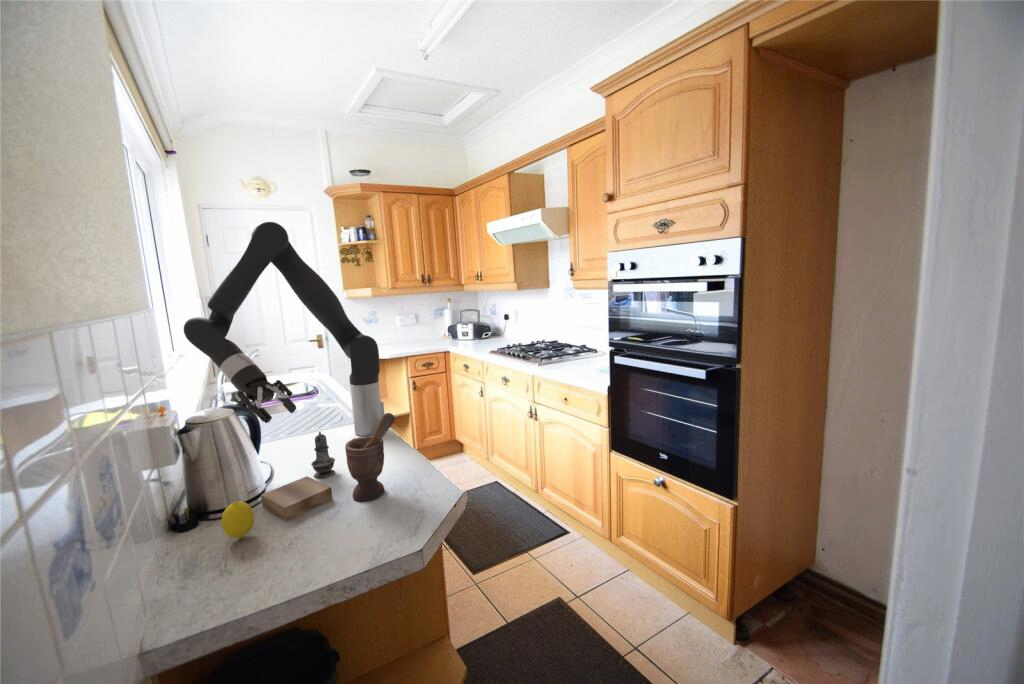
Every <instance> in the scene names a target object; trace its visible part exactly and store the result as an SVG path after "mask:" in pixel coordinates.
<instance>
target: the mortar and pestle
mask: <svg viewBox="0 0 1024 684" xmlns="http://www.w3.org/2000/svg"><path fill="white" fill-rule="evenodd" d="M384 414H385V415H384V416H383V417H382V419H381V421H380V423H379V425H378V427H377V429H376V431H375V433H374V435H368V436H360V437H355V438H352V439H350V440H348V441H347V442H346V443H345V445H344V446H345V449H344V450H345V455H346V464H347V469H348V471H349V473H350V474H349V475H350V476H351V478H353V480H355V481H356V482H357V484H356V486H355V487H353V488H354V489H353V491H352V499H353V500H354V501H357V502H365V501H366V502H367V501H368V502H369V501H372V500H374V499H376V498H379V497H380V496H383V494H384V493H385V486H384V484H383V483H382V482H380V481H379V480H378V478H379V476H380V475H381V474H382V472H383V468H384V463H385V452H384V450H385V449H384V448H385V445H384V439H383V438H384V436H385V435H386V433H387V432H388V431H389V429H390V428H392V426H393V425H394V422H395V420H396V416H395V415H394V414H392V413H390V412H386V413H384Z"/></svg>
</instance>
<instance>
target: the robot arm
mask: <svg viewBox="0 0 1024 684" xmlns="http://www.w3.org/2000/svg"><path fill="white" fill-rule="evenodd" d="M270 264H272V265H273V266H274V267H275V268H276V269H277V270H278V271H279V272H280V273H281V275H282V276H283V278H284V279H285V281H286V282H287V284H288V285H289V286H290V288H291V290H292V291H293V292H294V294H295V295H296V296H297V298H298V299H299V300H300V301H301V303H302V304H303V305H304V306H305V307H306V309H307V310H308V311H309V312H310V313H311V314H312V315H313V316H314V318H315V319H317V320H318V322H319V323H320V324H321V325H322V326H323V327H324V328H326V329H327V330H328V331H329V333H330V334H331V335H332V336H333V338H334V340H335V341H336V342H337V344H338V345H339V346H340V348H341V350H342V351H343V353H344V354H345V356H346V357H347V358H348V359H350V369H351V372H350V375H349V377H348V378H349V387H350V396H351V407H352V415H353V423H354V424H353V426H354V433H355V436H360V437H366V436H373V435H374V433H375V431H376V429H377V427H378V425H379V423H380V421H381V419H382V417H383V416H384V415H385V414H386V413H385V406H384V401H382V399H381V390H380V389H381V388H380V379H379V376H380V371H381V369H380V368H381V367H380V354H379V353H380V352H379V346H378V343H377V341H376V340H375V339H374V338H373V337H372V336H369V335H366V334H363V333H362V332H361V330H359V328H357V327H356V326H355V325H354V324H353V322H352V321H351V320H350V319H349V318H348V315H347V313H346V312H345V309H344V307H343V304H342V303H341V301H340V299H339V298H338V296H337V295H336V294H335V292H334V291H333V290H332V289H331V287H330V286H329V284H328V283H327V282H326V281H325V280H324V279H323V278H322V277H321V276H320V275H319V274H318V273H317V272H316V271H315V269H313V268H312V267H311V266H309V265H308V263H306V262H305V261H304V260H303V259H302V258H301V256H300V255H299V254H298V252H297V251H296V249H295V248H294V247H293V245H292V244H291V242H290V240H289V234H288V232H287V230H286V229H285V227H283V226H282V225H281V224H280V223H278V222H274V221H263V222H261V223H258V224H257V225H256V226H254V228H253V229H252V232H251V237H250V240H249V243H248V245H247V247H246V249H245V251H244V253H243V254H242V255H241V258H240V259H239V260H238V262H237V263H236V264H235V266H234V267H233V268H232V270H231V271H230V272H229V273H228V274H227V275H226V276H225V278H224V279H223V280H222V282H221V283H220V284H219V285H218V287H217V289H216V290H215V291H214V293H213V295H212V296H211V297H210V299H209V301H208V302H207V308H208V309H209V310H210V311H211V312H210V315H209V317H208V318H205V317H202V316H195V317H191V318H189V319H188V320H186V321H185V323H184V325H183V334H184V336H185V338H186V339H187V341H188V342H189V343H190V344H192V345H193V346H194V347H195V348H197V349H198V350H199V351H200V352H201V353H203V354H204V355H206V356H207V357H208V358H209V359H210V360H211V361H212V363H214V364H215V365H216V366H217V367H218V368H219V369H220V371H221V373H222V374H223V375H224V377H225V378H226V379H227V380H228V381H229V382H230V383H231V384H232V385H233V386H234V388H235V389H236V390H237V391H238V392H237V394H235V396H234V398H233V399H234V401H235V402H236V404H237V405H238V406H239V407H240V408H241V406H243V407H245V408H247V409H249V410H251V411H252V412H253V413H252V414H254V415H256V416H257V417H258V418H259V419H260V420H261V422H264V423H265V424H267V423H270V422H271V421H272V419H273V417H272V415H270V413H269V412H268V411H267V409H265V408H264V407H263V406H262V404H264V403H265V402H269V401H272V402H278V403H280V404H282V406H283V407H284V408H285V409H286V410H287V411H288V412H289V413H290V414H292V413H295V411H297V406H296V404H295V403H294V402H293V401H292V400H291V397H292V395H293V391H291V390H290V388H288V387H287V386H286V385H285V384H284V383H283V382H282V381H281V380H280V379H277V380H276V381H275V382H273V383H271V382H269V381H268V377H267V375H266V374H265V372H263V370H262V369H261V368H260V367H259V366H258V364H256V363H255V362H254V361H253V360H252V358H250V357H249V356H247V354H246V353H245V352H243V350H242V349H241V348H240V347H239V346H238V345H237V344H236V343H235V342H233V341H232V340H229V339H227V338H226V337H227V335H228V333H229V331H230V328H231V326H232V323H233V320H234V316H235V314H236V313H237V312H238V310H239V309H240V308H241V306H242V304H243V303H244V301H245V300H246V299H247V297H248V295H249V293H250V292H251V290H252V289H253V287H254V286H255V284H256V283H257V281H258V279H259V278H260V276H261V275H262V273H263V272H264V271H265V269H266V268H267V267H268V266H269V265H270Z"/></svg>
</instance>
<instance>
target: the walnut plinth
mask: <svg viewBox="0 0 1024 684" xmlns="http://www.w3.org/2000/svg"><path fill="white" fill-rule="evenodd" d="M260 498H261V506H262V507H263V508H264V509H265V510H267V511H269V512H271V513H272V514H274V515H276V516H277V517H279V518H281V519H283V521H289V520H291V519H293V518H295V517H297V516H300V515H302V514H303V513H306V512H308V511H310V510H312V509H314V508H317V507H318V506H321V505H323V504H325V503H327V502H330V501H331V500H333V498H334V497H333V490H332V486H330V485H327V484H325V483H324V482H320V481H318V480H316V479H315V478H312V477H309V476H304V477H301V478H299V479H296V480H294V481H292V482H289V483H287V484H283V485H281V486H279V487H277V488H274V489H272V490H270V491H267V492H264V493H261V494H260Z"/></svg>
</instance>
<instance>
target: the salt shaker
mask: <svg viewBox="0 0 1024 684" xmlns="http://www.w3.org/2000/svg"><path fill="white" fill-rule="evenodd" d="M314 444H315V448H314V451H315V457H316V458H315V459H314V460H313V461H312V462H311V463H310V465H311V467H312V469H313V470H314V471H315V472H316V473H314V475H313V479H315V480H316V479H317V480H323V479H328V478H330V477H333V476H334V475H335V474H336V470H334V469H333V467H334V465H335V462H336V458H334V457H332V456H330V455H329V448H330V446H329V445H328V442H327V436H326V434H322V432H321V431H319V432H318V434H317V435H316V436H315V437H314Z"/></svg>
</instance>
